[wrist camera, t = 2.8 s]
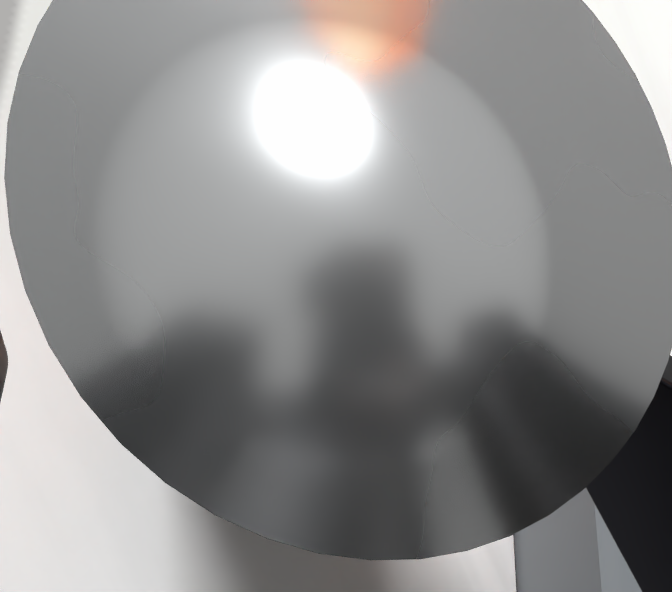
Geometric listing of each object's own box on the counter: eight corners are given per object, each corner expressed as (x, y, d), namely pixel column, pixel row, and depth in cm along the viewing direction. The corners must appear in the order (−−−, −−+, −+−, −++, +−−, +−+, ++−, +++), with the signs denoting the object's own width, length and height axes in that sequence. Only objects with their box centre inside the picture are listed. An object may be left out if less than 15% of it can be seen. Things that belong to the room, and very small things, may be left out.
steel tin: (332, 423, 17) (725, 534, 4) (143, 426, 15) (-72, 618, 3) (334, 251, 18) (652, -42, 6) (157, 236, 16) (50, -233, 4)
